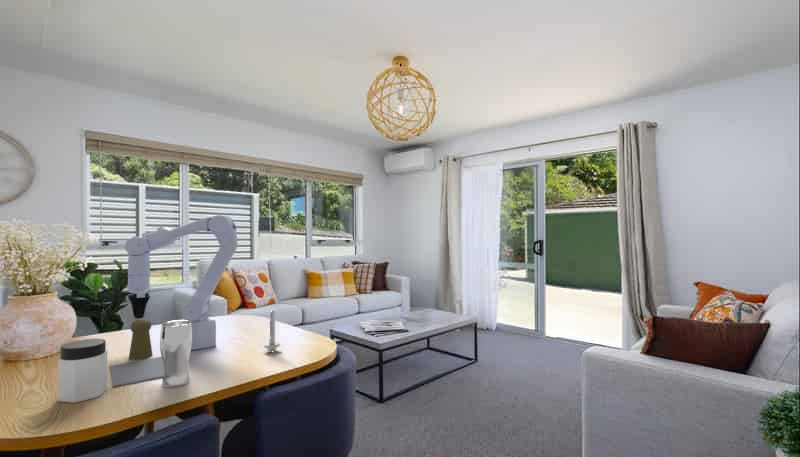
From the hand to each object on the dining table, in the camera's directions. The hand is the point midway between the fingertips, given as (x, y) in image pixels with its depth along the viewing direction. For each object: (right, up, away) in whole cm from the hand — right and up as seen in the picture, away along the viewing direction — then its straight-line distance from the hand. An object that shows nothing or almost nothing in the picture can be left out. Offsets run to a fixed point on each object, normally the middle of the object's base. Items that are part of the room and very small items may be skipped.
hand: (138, 317), depth 122 cm
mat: (+14, -10, -17) cm, 24 cm away
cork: (+5, -11, -6) cm, 13 cm away
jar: (+10, -11, -33) cm, 36 cm away
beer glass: (+27, -11, -26) cm, 39 cm away
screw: (+43, -11, -1) cm, 44 cm away
